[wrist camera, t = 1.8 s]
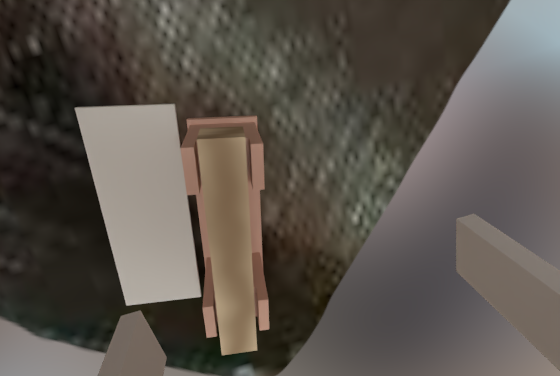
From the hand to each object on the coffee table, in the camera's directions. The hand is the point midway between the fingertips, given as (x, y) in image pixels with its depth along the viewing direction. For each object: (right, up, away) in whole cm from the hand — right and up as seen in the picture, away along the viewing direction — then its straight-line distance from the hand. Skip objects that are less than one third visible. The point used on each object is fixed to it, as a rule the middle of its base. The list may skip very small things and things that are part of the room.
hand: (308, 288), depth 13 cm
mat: (-16, +1, +23) cm, 28 cm away
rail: (-6, -1, +18) cm, 19 cm away
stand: (-7, +2, +24) cm, 25 cm away
